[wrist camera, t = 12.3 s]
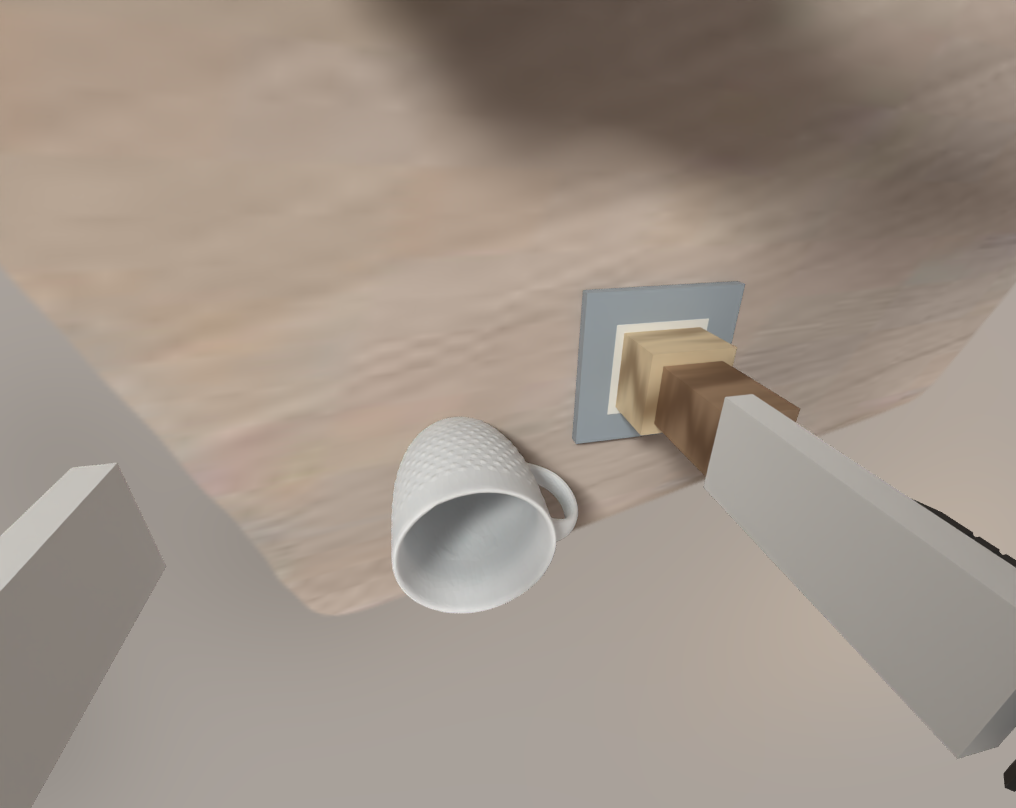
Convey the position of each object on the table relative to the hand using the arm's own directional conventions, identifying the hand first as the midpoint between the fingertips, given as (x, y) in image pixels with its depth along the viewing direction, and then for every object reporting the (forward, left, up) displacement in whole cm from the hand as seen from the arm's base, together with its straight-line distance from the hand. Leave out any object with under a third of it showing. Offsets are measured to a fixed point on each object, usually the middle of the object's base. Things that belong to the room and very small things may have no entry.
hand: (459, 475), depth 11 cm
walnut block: (+10, +20, -21) cm, 30 cm away
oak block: (+10, +20, -26) cm, 34 cm away
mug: (+17, +3, -27) cm, 32 cm away
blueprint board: (+10, +20, -27) cm, 35 cm away
